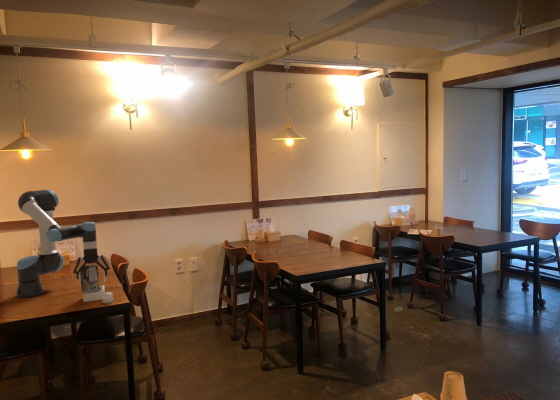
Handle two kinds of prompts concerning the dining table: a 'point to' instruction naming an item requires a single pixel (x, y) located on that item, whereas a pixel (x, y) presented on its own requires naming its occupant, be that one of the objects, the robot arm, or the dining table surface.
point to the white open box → (94, 295)
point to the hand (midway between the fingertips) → (92, 282)
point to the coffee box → (89, 279)
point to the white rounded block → (107, 297)
